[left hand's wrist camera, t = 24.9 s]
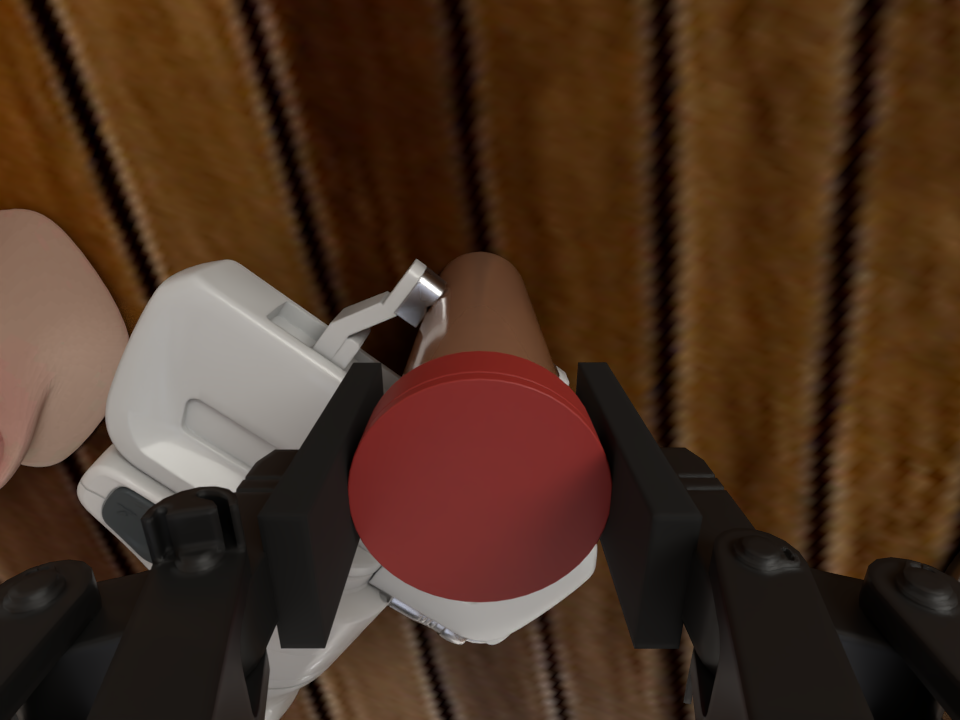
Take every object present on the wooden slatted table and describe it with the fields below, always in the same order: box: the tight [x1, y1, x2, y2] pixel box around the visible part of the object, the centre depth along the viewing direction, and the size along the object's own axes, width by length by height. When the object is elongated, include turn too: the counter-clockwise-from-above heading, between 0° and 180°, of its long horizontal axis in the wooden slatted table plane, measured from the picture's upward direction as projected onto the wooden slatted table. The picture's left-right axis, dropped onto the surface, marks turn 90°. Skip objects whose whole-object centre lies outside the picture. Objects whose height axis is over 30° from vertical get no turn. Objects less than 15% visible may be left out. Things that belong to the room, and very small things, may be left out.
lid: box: [348, 351, 612, 602], centre depth 11 cm, size 5×5×2 cm
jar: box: [402, 252, 558, 377], centre depth 19 cm, size 5×5×16 cm
